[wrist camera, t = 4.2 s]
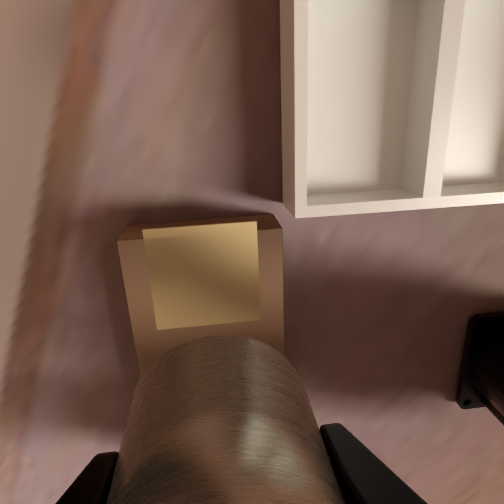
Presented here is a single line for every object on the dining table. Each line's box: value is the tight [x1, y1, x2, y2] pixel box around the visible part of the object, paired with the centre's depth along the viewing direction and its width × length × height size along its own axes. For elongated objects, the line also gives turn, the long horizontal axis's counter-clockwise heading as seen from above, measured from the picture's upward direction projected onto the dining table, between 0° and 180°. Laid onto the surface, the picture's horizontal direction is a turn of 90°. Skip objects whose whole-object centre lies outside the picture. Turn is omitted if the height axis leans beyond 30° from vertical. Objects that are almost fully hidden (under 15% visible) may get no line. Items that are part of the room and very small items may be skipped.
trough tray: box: [280, 0, 504, 218], centre depth 17 cm, size 9×12×3 cm
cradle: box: [117, 214, 285, 378], centre depth 20 cm, size 15×7×4 cm, turn 3°
